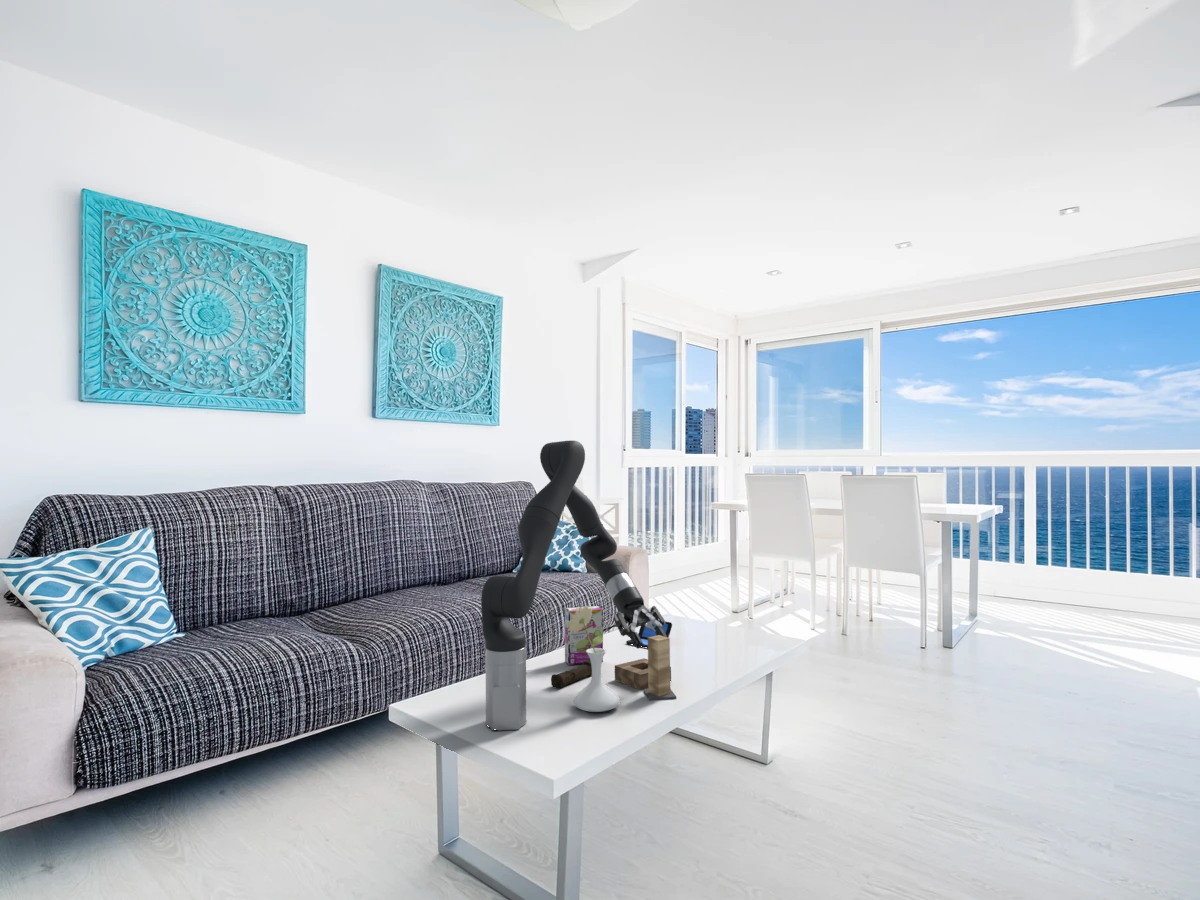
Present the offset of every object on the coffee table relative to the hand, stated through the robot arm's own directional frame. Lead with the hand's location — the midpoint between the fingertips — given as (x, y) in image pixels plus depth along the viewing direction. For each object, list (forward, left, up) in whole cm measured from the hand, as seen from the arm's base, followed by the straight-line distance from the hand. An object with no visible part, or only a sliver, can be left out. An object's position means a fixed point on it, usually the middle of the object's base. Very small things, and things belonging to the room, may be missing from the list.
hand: (652, 644), depth 166 cm
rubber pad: (-2, -1, -12) cm, 13 cm away
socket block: (+10, +1, -12) cm, 16 cm away
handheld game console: (+49, -9, -13) cm, 51 cm away
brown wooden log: (+15, +19, -13) cm, 27 cm away
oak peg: (-2, -1, -12) cm, 12 cm away
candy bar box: (+31, +15, -13) cm, 37 cm away
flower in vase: (-9, +17, -13) cm, 23 cm away
